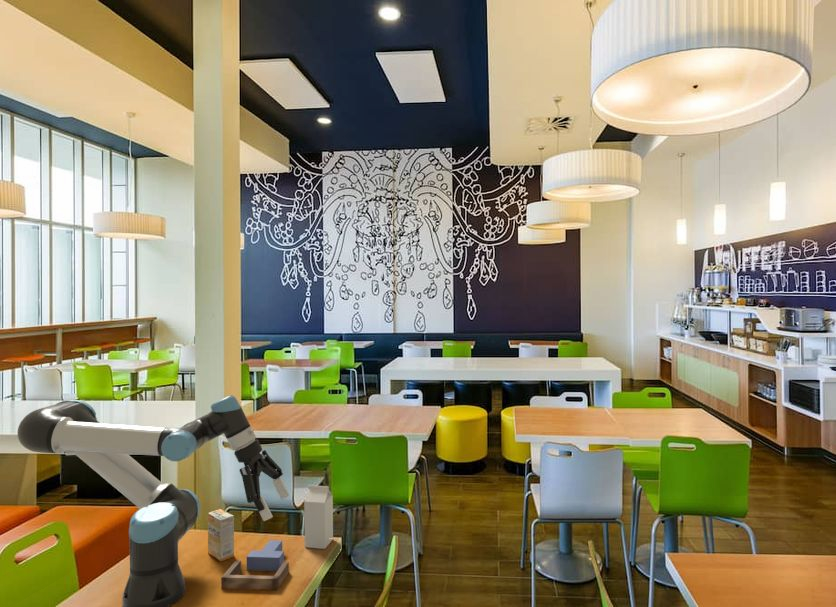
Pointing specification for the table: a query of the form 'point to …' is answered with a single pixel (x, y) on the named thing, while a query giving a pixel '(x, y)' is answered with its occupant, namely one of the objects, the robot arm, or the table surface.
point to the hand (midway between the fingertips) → (277, 507)
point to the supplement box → (221, 534)
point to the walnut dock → (253, 578)
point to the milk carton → (318, 517)
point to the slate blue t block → (266, 557)
